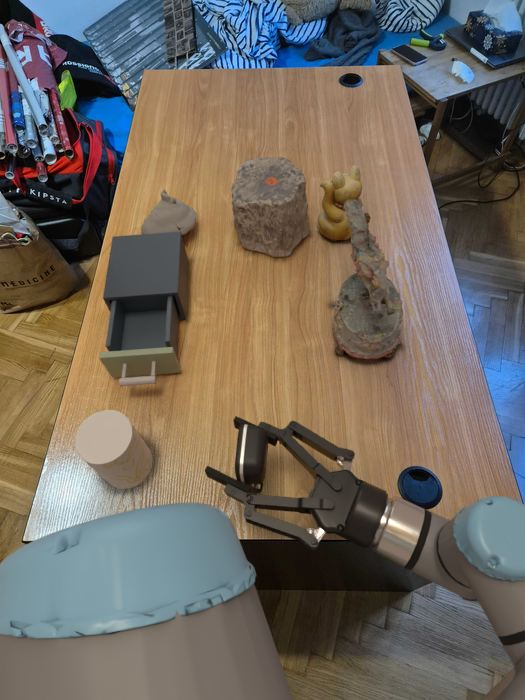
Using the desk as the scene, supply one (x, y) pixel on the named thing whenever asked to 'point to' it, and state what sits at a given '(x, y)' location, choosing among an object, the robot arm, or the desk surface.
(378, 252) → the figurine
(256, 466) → the battery charger
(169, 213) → the grey clay mound
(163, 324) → the drawer
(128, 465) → the cup
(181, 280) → the cabinet
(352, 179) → the decorative figurine
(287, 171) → the petrified wood
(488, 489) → the desk surface
